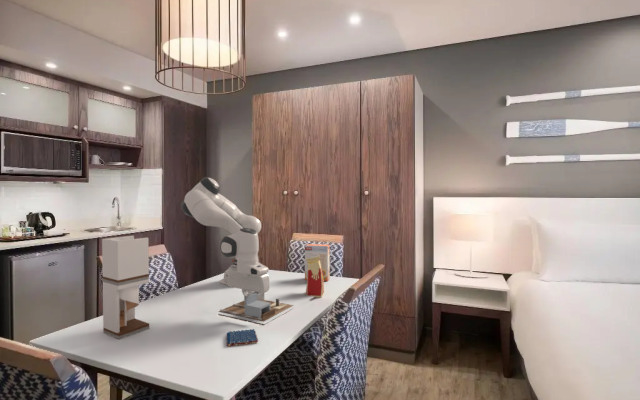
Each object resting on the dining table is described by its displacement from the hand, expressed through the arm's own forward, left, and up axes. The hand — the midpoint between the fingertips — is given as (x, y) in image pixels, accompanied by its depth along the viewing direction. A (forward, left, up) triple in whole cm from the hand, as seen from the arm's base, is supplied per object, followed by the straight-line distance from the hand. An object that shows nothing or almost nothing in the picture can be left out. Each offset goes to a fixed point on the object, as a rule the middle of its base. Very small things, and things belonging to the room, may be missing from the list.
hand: (247, 299), depth 147 cm
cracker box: (-3, +67, -7) cm, 68 cm away
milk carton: (+10, +40, -7) cm, 42 cm away
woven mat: (+13, -19, -8) cm, 24 cm away
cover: (+5, 0, -5) cm, 7 cm away
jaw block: (-6, +13, -5) cm, 16 cm away
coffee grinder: (-30, -34, -7) cm, 46 cm away
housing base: (0, +6, -7) cm, 9 cm away
